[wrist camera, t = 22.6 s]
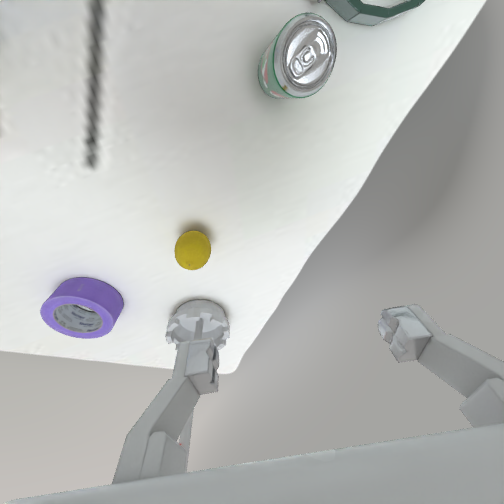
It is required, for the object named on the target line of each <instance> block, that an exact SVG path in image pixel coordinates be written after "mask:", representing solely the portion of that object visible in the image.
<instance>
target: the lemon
mask: <svg viewBox="0 0 504 504" xmlns="http://www.w3.org/2000/svg"><path fill="white" fill-rule="evenodd" d="M210 254H211V244H210V241H209V239H208V238H207V237H206V235H204V234H203V233H201V232H199V231H188V232H186V233H184V234H182V235H181V236H180V237H179V239H178V240H177V242H176V245H175V258H176V260H177V262H178V264H179V265H180V266H181V267H183V268H185V269H188V270H196V269H199V268H201V267H203V266H204V265H205V264H206V263H207V261H208V259H209V257H210Z"/></svg>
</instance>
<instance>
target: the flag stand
mask: <svg viewBox="0 0 504 504" xmlns="http://www.w3.org/2000/svg"><path fill="white" fill-rule="evenodd" d="M165 337H166V341H167V342H168V344H169V343H175V344H176V350H178V346H179V344H180V342H185V341H191V340H199V339H205V338H213V340H214V346H216V347H217V349H218V350H220V349H221V348H223V347H224V346H225V345H226V339H227V338H229V322H228V320H227V319H226V317H225V313H224V311H223V309H222V308H221V307H220V306H219V305H217V304H216V303H213V302H211V301H207V300H193V301H189V302H186V303H184V304H183V305H181V306H180V307H179V308H178V309H177V312H176V314H175V315H173V316H172V317H171V319H170V320H169V322H168V326H167V332H166V336H165ZM193 410H194V409H193ZM192 418H193V411H192V413H191V414H190V416H189V418H188V420H187V422H186V424H185V426H184V428H183V430H182V431H181V433H180V440H179V444H180V445H181V446H182V447H183V448H184V449H185V450H186V452H187V454H186V464H185V473H187V463H188V455H189V446H190V437H191V427H192Z"/></svg>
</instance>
